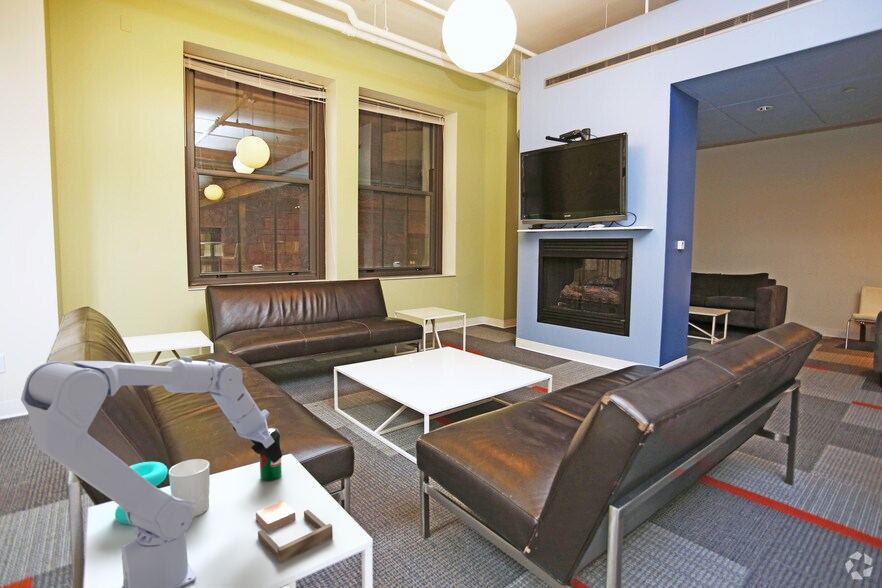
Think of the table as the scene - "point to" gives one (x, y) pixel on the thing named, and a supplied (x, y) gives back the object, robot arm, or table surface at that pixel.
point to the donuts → (151, 473)
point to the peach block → (275, 515)
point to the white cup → (191, 483)
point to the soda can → (270, 465)
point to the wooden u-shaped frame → (301, 543)
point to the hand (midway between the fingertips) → (269, 450)
